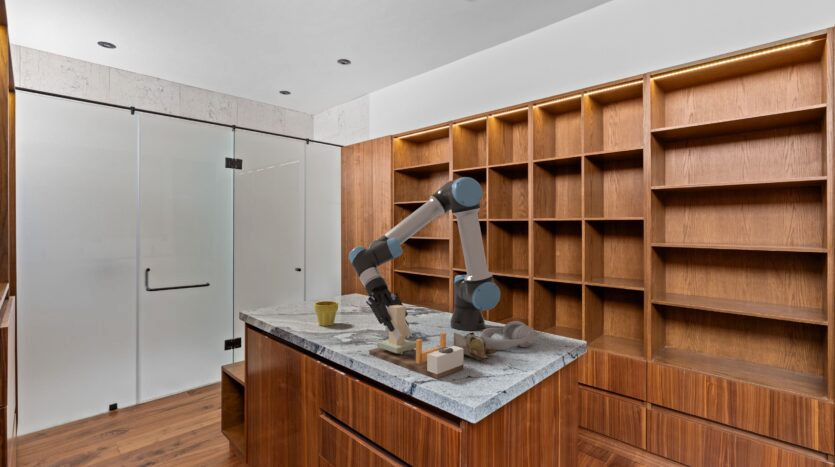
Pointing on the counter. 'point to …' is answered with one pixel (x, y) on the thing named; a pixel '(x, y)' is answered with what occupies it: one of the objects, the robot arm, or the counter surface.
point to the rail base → (410, 362)
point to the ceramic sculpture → (473, 346)
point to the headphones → (509, 336)
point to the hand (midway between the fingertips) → (404, 336)
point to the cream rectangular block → (444, 359)
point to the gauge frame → (423, 355)
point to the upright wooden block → (399, 318)
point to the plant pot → (326, 312)
